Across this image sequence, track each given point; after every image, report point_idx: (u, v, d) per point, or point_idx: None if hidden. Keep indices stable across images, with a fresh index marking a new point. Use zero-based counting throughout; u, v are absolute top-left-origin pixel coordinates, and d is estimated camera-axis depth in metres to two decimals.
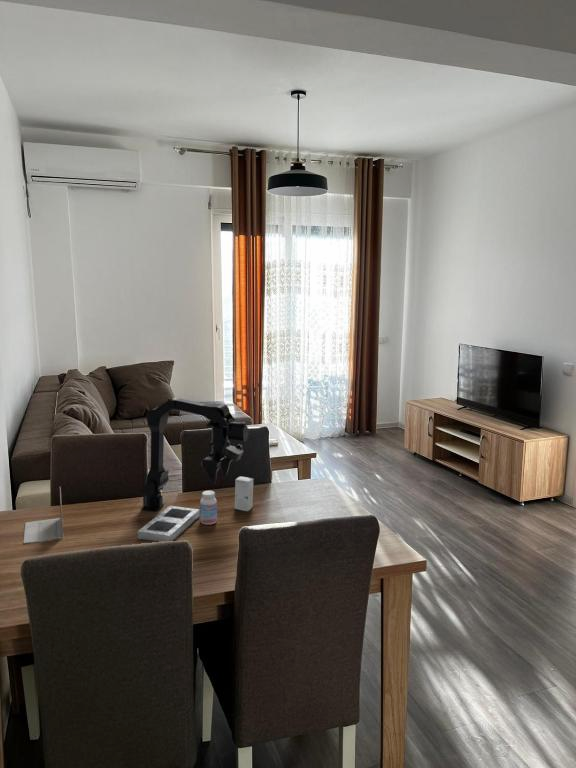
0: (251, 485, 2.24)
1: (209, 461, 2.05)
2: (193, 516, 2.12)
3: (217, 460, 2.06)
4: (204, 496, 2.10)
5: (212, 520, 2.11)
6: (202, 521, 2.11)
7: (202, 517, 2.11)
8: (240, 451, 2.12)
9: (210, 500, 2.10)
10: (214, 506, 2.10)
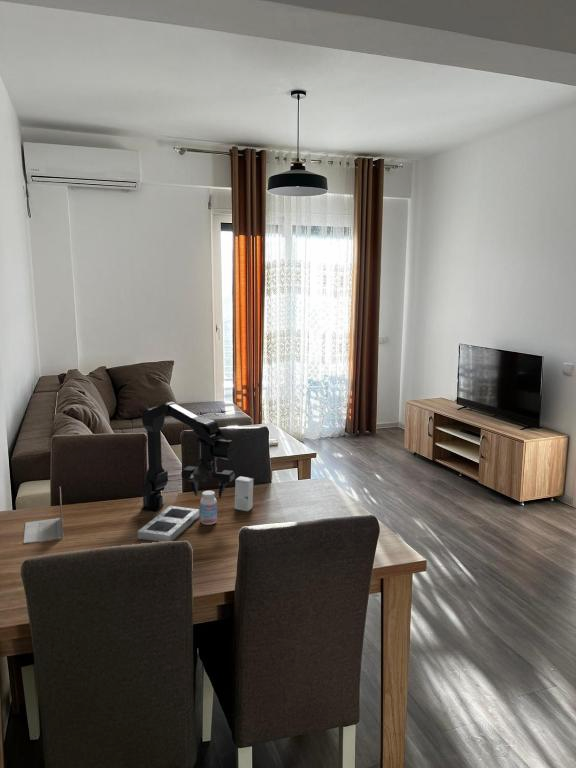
0: (251, 485, 2.24)
1: (184, 469, 2.12)
2: (193, 516, 2.12)
3: (186, 471, 2.09)
4: (204, 496, 2.10)
5: (212, 520, 2.11)
6: (202, 521, 2.11)
7: (202, 517, 2.11)
8: (201, 473, 2.02)
9: (210, 500, 2.10)
10: (214, 506, 2.10)
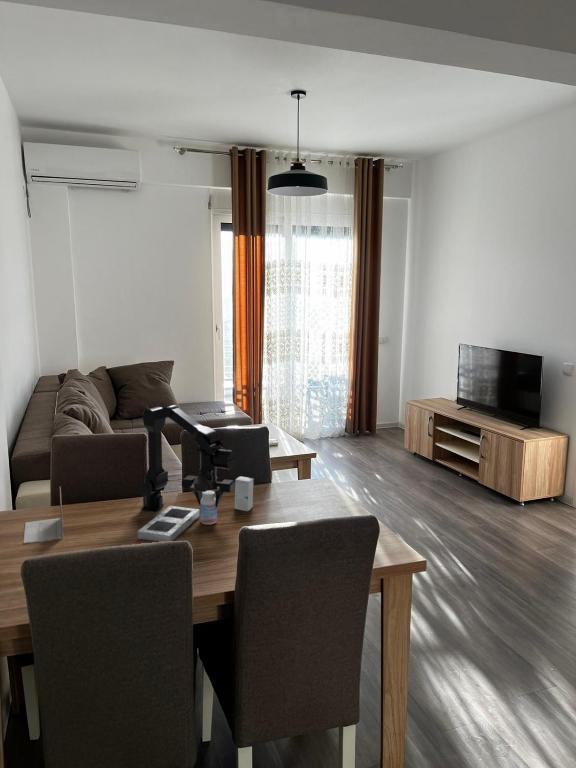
0: (251, 485, 2.24)
1: None
2: (193, 516, 2.12)
3: (187, 480, 2.10)
4: (204, 496, 2.10)
5: (212, 520, 2.11)
6: (202, 521, 2.11)
7: (202, 517, 2.11)
8: (201, 483, 2.03)
9: (210, 500, 2.10)
10: (214, 506, 2.10)
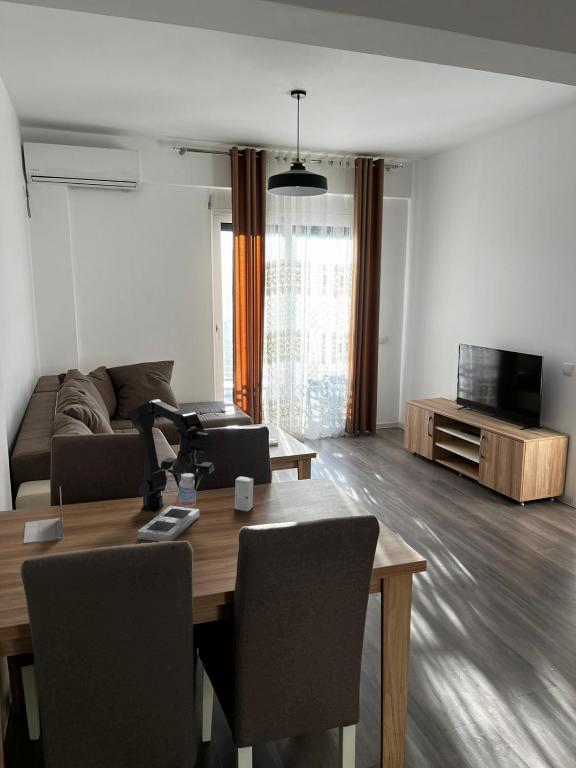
0: (251, 485, 2.24)
1: None
2: (193, 516, 2.12)
3: (166, 462, 2.09)
4: (183, 478, 2.09)
5: (191, 503, 2.10)
6: (181, 504, 2.10)
7: (181, 500, 2.10)
8: (180, 465, 2.02)
9: (189, 483, 2.09)
10: (193, 489, 2.10)
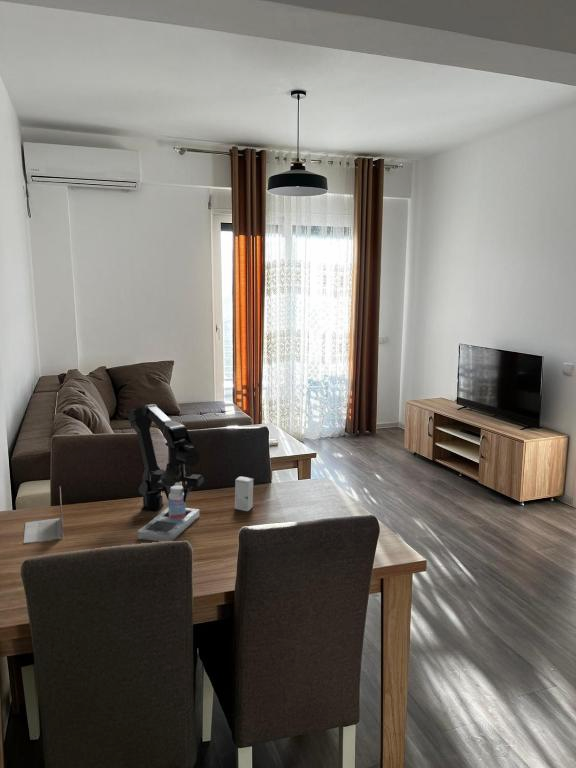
0: (251, 485, 2.24)
1: (153, 473, 2.12)
2: (193, 516, 2.12)
3: (155, 475, 2.10)
4: (172, 491, 2.09)
5: (180, 515, 2.10)
6: (170, 516, 2.11)
7: (170, 512, 2.10)
8: (168, 478, 2.02)
9: (178, 495, 2.09)
10: (182, 501, 2.10)
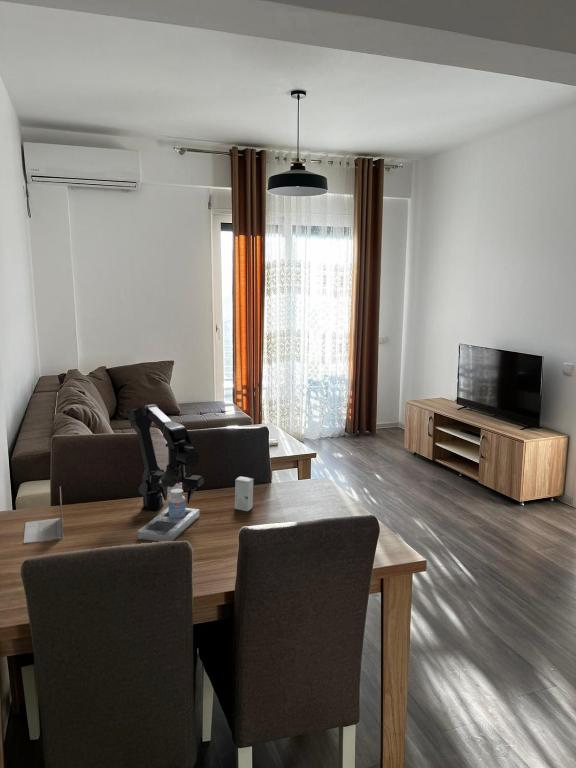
0: (251, 485, 2.24)
1: (153, 474, 2.12)
2: (193, 516, 2.12)
3: (155, 476, 2.10)
4: (172, 494, 2.10)
5: (180, 518, 2.10)
6: None
7: (170, 515, 2.11)
8: (169, 478, 2.02)
9: (178, 498, 2.10)
10: (182, 504, 2.10)
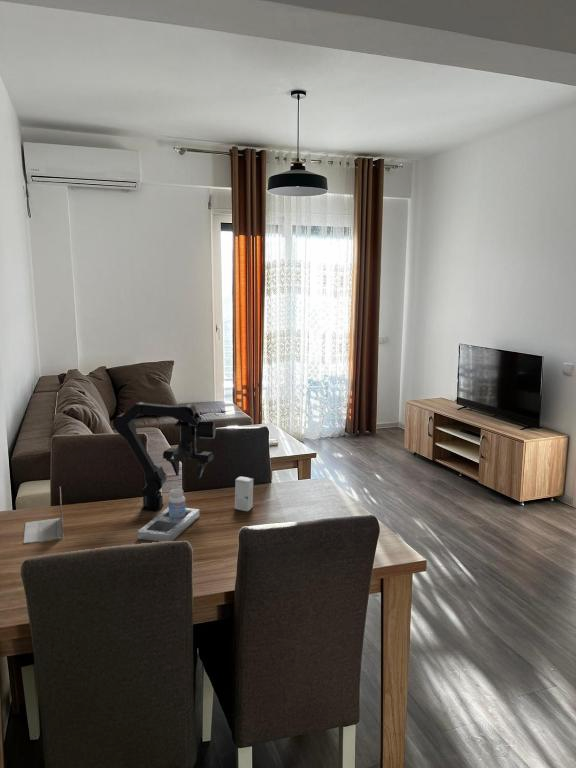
0: (251, 485, 2.24)
1: None
2: (193, 516, 2.12)
3: (167, 452, 2.20)
4: (172, 494, 2.10)
5: (180, 518, 2.10)
6: None
7: (170, 515, 2.11)
8: (180, 454, 2.13)
9: (178, 498, 2.10)
10: (182, 504, 2.10)
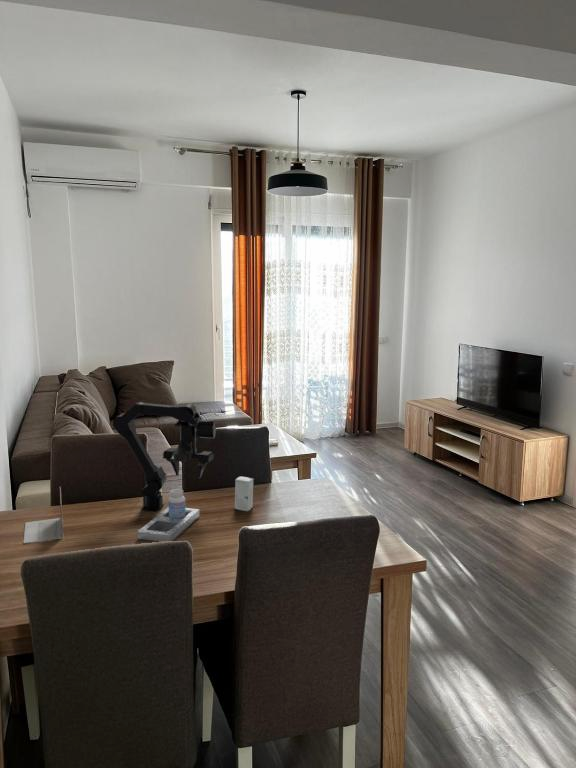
0: (251, 485, 2.24)
1: None
2: (193, 516, 2.12)
3: (168, 452, 2.20)
4: (172, 494, 2.10)
5: (180, 518, 2.10)
6: None
7: (170, 515, 2.11)
8: (181, 453, 2.13)
9: (178, 498, 2.10)
10: (182, 504, 2.10)
